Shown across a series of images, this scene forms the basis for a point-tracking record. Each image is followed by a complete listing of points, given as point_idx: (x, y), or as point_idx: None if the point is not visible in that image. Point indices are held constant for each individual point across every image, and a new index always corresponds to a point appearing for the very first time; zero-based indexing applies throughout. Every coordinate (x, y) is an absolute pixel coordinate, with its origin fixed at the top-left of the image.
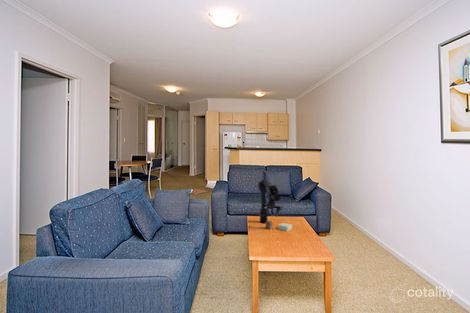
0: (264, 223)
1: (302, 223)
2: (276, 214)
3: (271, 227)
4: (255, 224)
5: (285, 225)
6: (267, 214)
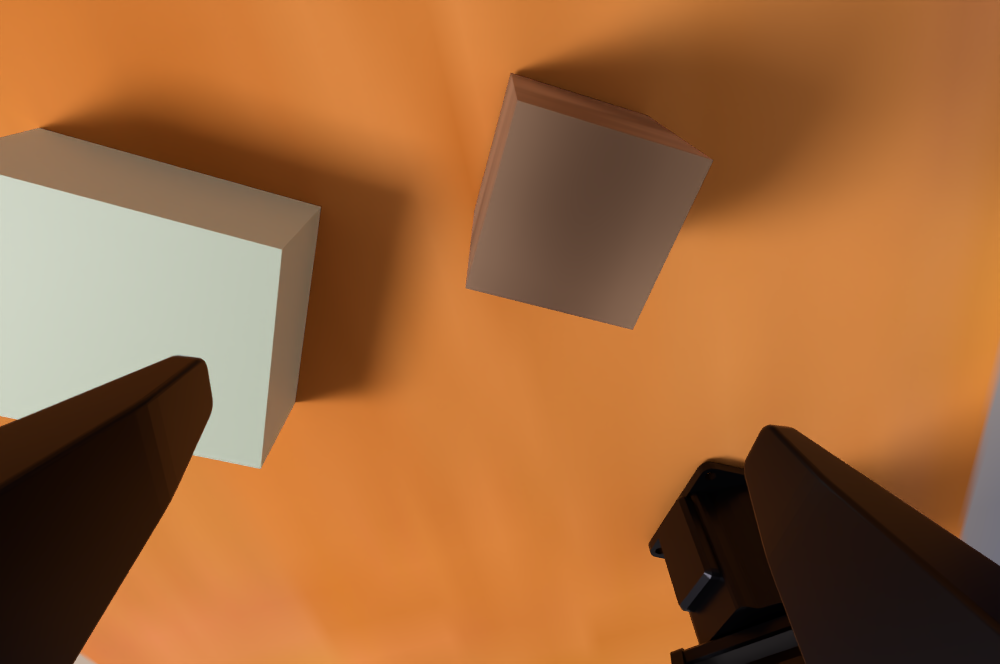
0: (708, 462)
1: (96, 645)
2: (68, 432)
3: (488, 162)
4: (914, 355)
5: (71, 274)
6: (761, 493)
